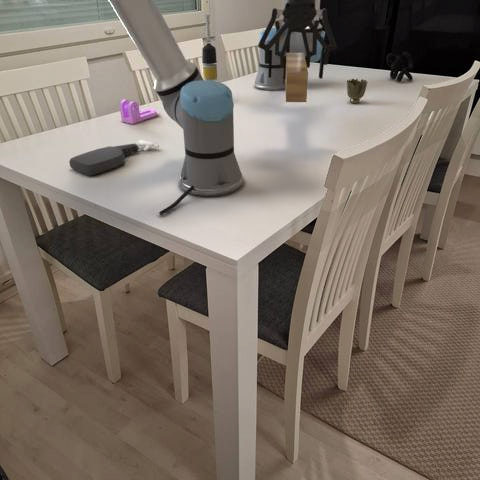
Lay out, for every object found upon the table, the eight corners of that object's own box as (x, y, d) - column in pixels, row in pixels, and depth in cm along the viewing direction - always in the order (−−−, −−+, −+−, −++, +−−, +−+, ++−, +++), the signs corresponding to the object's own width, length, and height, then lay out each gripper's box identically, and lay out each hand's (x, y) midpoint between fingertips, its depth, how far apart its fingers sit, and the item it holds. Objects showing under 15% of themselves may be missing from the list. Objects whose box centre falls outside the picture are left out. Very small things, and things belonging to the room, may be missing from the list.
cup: (342, 103, 169) (344, 81, 165) (347, 99, 174) (350, 77, 170) (361, 106, 166) (364, 83, 162) (366, 101, 171) (369, 79, 167)
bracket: (132, 123, 152) (129, 103, 148) (121, 121, 155) (118, 100, 151) (160, 114, 161) (157, 95, 157) (149, 112, 164) (147, 92, 160)
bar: (306, 102, 123) (308, 72, 118) (285, 102, 123) (286, 72, 119) (302, 78, 148) (304, 52, 144) (285, 77, 148) (286, 52, 144)
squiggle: (400, 92, 202) (376, 71, 205) (417, 76, 202) (392, 56, 205) (405, 81, 191) (380, 59, 194) (423, 64, 191) (397, 42, 194)
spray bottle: (67, 168, 120) (139, 144, 136) (91, 178, 114) (163, 151, 130) (65, 157, 118) (137, 134, 134) (89, 167, 112) (162, 142, 128)
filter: (220, 99, 177) (217, 15, 161) (206, 100, 176) (202, 16, 160) (215, 96, 182) (212, 14, 166) (202, 97, 180) (197, 14, 164)
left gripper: (350, -14, 111) (340, 75, 122) (250, -15, 113) (249, 73, 124) (355, -13, 105) (343, 81, 116) (249, -14, 106) (248, 79, 117)
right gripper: (328, -4, 135) (322, 75, 147) (267, -4, 136) (266, 75, 149) (330, -3, 129) (324, 81, 141) (266, -2, 130) (265, 80, 143)
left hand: (295, 77), depth 120 cm, fingers open, 13 cm apart
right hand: (294, 78), depth 145 cm, fingers closed on bar, 6 cm apart
